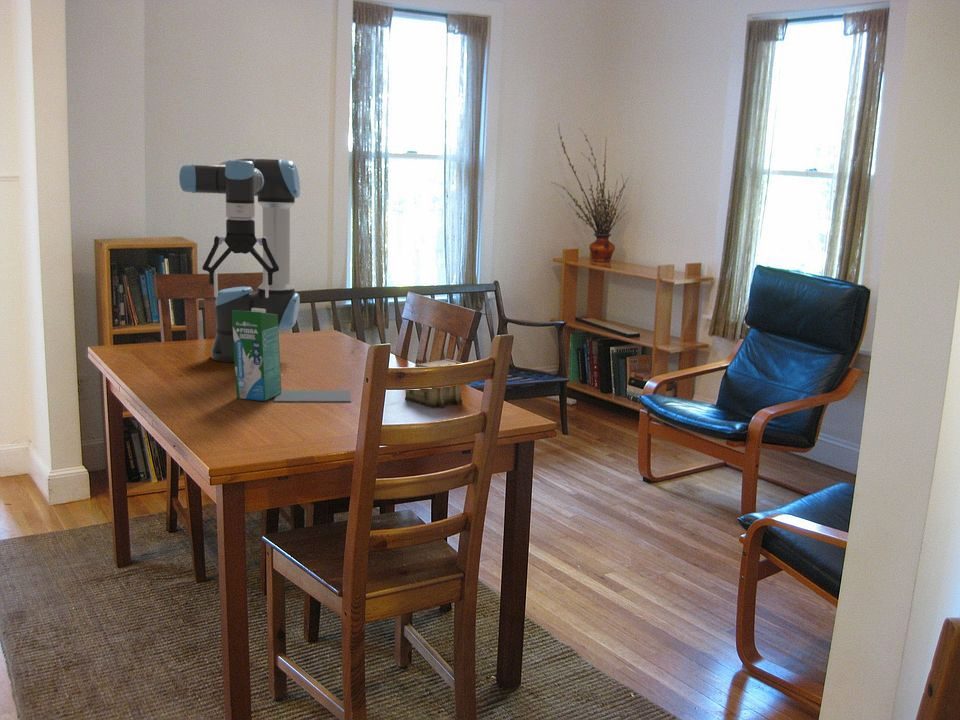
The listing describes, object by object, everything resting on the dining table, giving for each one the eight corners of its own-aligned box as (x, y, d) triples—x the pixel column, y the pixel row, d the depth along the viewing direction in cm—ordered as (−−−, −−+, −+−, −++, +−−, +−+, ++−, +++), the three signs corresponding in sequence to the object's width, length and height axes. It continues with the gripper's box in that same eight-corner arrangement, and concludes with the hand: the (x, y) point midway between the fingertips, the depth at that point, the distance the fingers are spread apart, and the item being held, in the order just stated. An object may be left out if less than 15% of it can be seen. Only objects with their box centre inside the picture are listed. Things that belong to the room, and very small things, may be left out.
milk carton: (281, 393, 270) (277, 306, 264) (264, 401, 262) (260, 311, 256) (254, 390, 273) (249, 304, 267) (236, 398, 264) (231, 309, 259)
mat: (276, 391, 274) (276, 389, 274) (350, 391, 277) (350, 390, 277) (274, 402, 262) (274, 400, 262) (350, 402, 265) (350, 400, 265)
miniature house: (471, 402, 271) (473, 363, 269) (435, 410, 261) (436, 369, 259) (435, 391, 281) (437, 353, 279) (399, 398, 271) (400, 359, 269)
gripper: (190, 218, 250) (192, 298, 255) (287, 221, 255) (287, 299, 260) (194, 216, 258) (196, 293, 262) (287, 218, 262) (288, 294, 267)
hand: (241, 296), depth 261 cm, fingers open, 13 cm apart
